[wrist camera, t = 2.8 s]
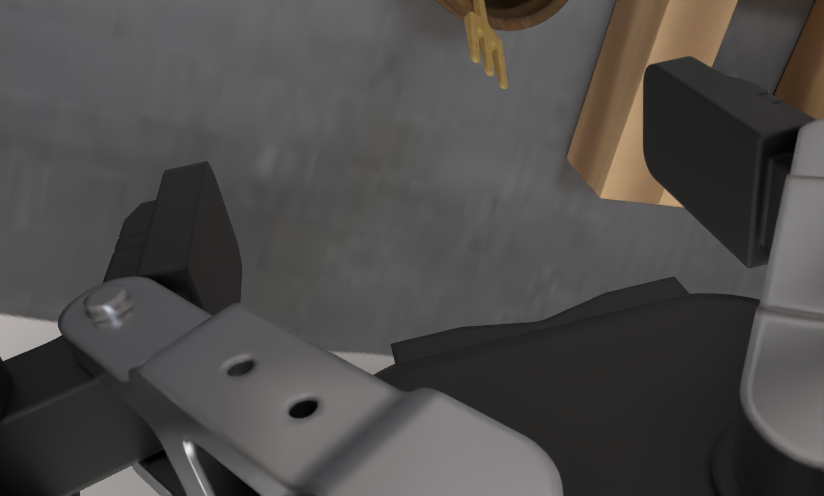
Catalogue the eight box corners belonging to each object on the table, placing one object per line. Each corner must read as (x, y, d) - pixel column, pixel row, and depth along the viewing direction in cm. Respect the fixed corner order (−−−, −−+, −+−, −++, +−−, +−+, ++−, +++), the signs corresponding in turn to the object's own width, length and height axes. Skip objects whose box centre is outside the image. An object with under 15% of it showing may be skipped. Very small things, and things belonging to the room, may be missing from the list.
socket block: (565, 158, 37) (599, 198, 33) (655, -124, 31) (709, -115, 27) (782, 185, 40) (836, 224, 37) (903, -67, 34) (983, -51, 30)
